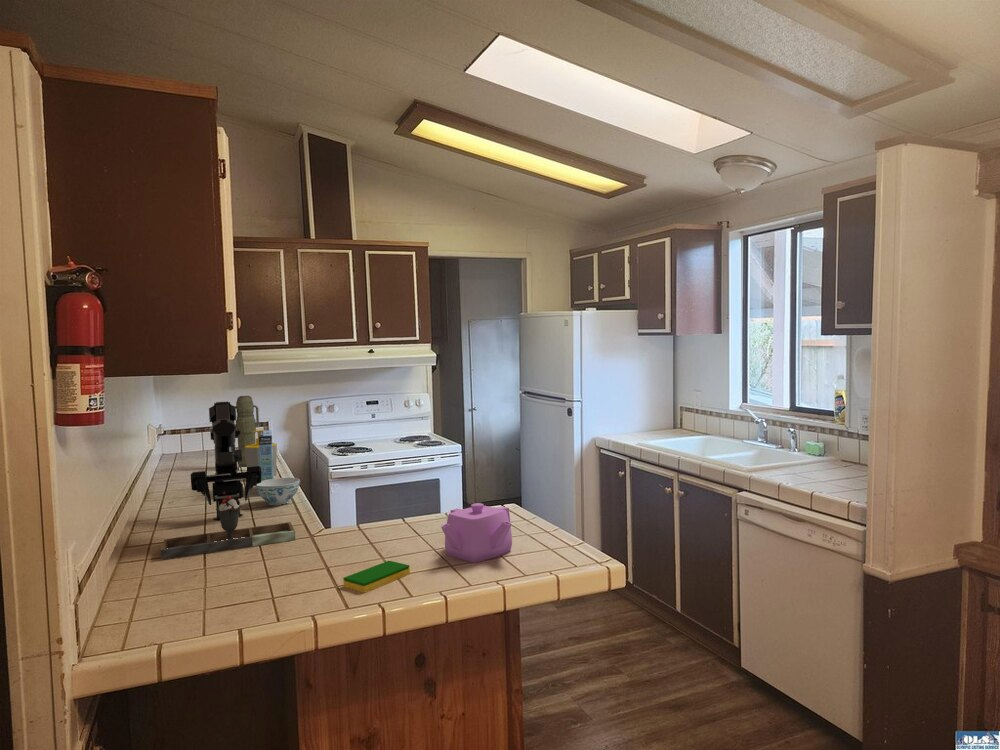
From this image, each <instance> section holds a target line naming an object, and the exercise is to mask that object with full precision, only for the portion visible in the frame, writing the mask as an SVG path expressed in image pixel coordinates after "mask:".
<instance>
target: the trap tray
mask: <svg viewBox="0 0 1000 750" xmlns="http://www.w3.org/2000/svg"><path fill="white" fill-rule="evenodd" d="M232 537H233V538H238V539H231V540H226V539H228V532H227V531H225V530H221V531H215V532H207V533H201V534H194V535H193V534H191V535H185V536H178V537H170V538H164V539H163V542H162V545H161V549H160V556H161V558H160V560H161V559H164V560H169V559H168V558H171V559H176V558H175V557H177V558H182V557H181V556H184V557H189V555H191V556H196V555H195V554H198V555H203V553H204V554H210V552H211V553H216V551H218V552H223V551H222V550H225V551H229V550H228V549H231V550H235V549H234V548H238V549H242V547H245V548H251V547H250V546H252V547H259V546H263V545H270V544H271V545H272V544H279V543H285V542H292V541H296V530H295V529H294V526H293V524H292V522H291V521H290V522H288V521H287V522H281V523H272V524H267V525H258V526H252V527H245V528H235V529H234V530H233V532H232ZM241 537H245V538H241ZM221 540H224V541H221ZM214 541H217V542H214ZM167 548H168V549H167Z"/></svg>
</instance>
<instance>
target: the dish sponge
mask: <svg viewBox="0 0 1000 750" xmlns="http://www.w3.org/2000/svg"><path fill="white" fill-rule="evenodd" d="M410 572H411V570H410V565H409V564H405V563H401V562H397V561H393V560H387V561H384V562H381V563H378V564H376V565H374V566H371V567H368V568H366V569H363V570H361V571H357V572H356V573H353V574H349V575H348V576H347V575H346V576H345V577H342V578H343V588H347V589H350V590H352V591H358V592H359V593H360V592H361V593H367V592H370V591H372V590H375V589H377V588H379V587H382V586H384V585H387V584H389V583H392V582H393V581H396V580H399V579H401V578H403V577H406V576H409V575H410Z"/></svg>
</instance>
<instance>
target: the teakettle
mask: <svg viewBox="0 0 1000 750" xmlns="http://www.w3.org/2000/svg"><path fill="white" fill-rule="evenodd" d="M440 528H441V531H442V532H443V534H444V548H445V549H444V550H445V551H446V552H445V553H446V554H447V556H449V557H452V558H455V559H458V560H461V561H465V562H469V563H473V564H474V563H480V562H483V561H488V560H490V559H494V558H497V557H499V556H503V555H505V554H506V553H509V552H510V551H511V549H512V545H513V536H512V535H513V534H512V523H511V516H510V507H508V506H507V507H506V506H499V507H493V506H488V505H484V503H482V502H477V503H472V504H470V507H466V508H454V509H450V512H449V514H448V515H447V519H446V523H445V524H443V525H441V526H440Z"/></svg>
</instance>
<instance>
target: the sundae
mask: <svg viewBox="0 0 1000 750" xmlns="http://www.w3.org/2000/svg"><path fill="white" fill-rule="evenodd" d="M224 493H225V492H223V494H224ZM225 495H226V494H225ZM226 496H227V495H226ZM240 503H241V501H240V499H239V500H238V499H236V498H235V499H234V498H231V497H230V496H227V498H226V499H223V500H222V504H221V505H220V506H219V508H217V509H216V508H215V511H216V512H217V511H218V512H219V517H220V520H219V521H220V522H219V523H220V525H221V528H222V530H223V531H227V532H228V540H231V539H233V537H232V532H233V530H235V529H237V528H238V523H239V517H238V515H239V509H240V510H241V509H242V505H241V504H240ZM239 504H240V506H239Z"/></svg>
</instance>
